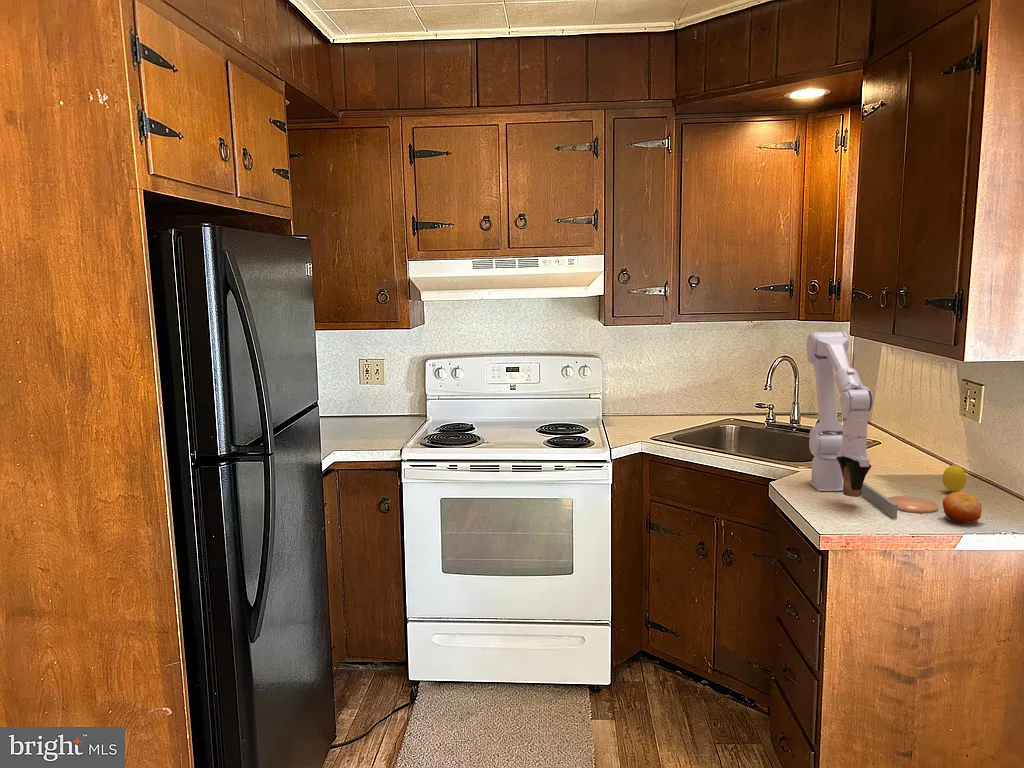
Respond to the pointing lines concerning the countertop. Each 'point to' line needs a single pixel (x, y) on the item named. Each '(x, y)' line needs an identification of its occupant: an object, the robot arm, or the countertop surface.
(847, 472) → the walnut cylinder
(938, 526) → the countertop surface
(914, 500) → the saucer
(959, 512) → the fruit
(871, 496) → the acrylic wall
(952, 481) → the lemon
